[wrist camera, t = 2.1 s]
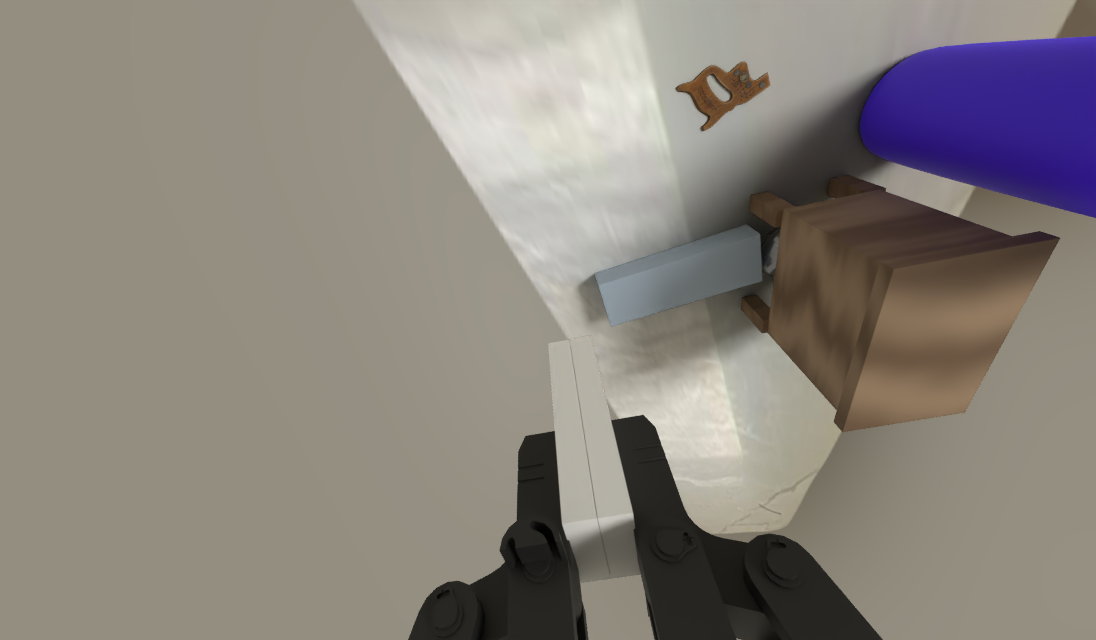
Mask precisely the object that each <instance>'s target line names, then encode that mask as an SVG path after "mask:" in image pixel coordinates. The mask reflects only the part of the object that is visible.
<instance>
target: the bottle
mask: <svg viewBox="0 0 1096 640" xmlns="http://www.w3.org/2000/svg"><path fill="white" fill-rule="evenodd" d="M860 134H861V138H862V141H863V143H864V145H865V147H866V148H867V149H868V150H869V151H870V152H871V153H873V154H875V155H877V156H879V157H881V158H883V159H885V160H888V161H891V162H894V163H897V164H900V165H904V166H907V167H910V168H913V169H917V170H920V171H924V172H927V173H931V174H934V175H938V176H941V177H945V178H948V179H952V180H955V181H959V182H963V183H966V184H970V185H974V186H977V187H981V188H984V189H988V190H992V191H995V192H999V193H1003V194H1007V195H1010V196H1014V197H1018V198H1022V199H1025V200H1029V201H1033V202H1037V203H1041V204H1044V205H1048V206H1052V207H1056V208H1059V209H1063V210H1067V211H1071V212H1075V213H1078V214H1083V215H1086V216H1090V217H1094V218H1096V36H1092V37H1074V38H1056V39H1038V40H1021V41H1006V42H991V43H976V44H965V45H955V46H945V47H939V48H934V49H929V50H925V51H921V52H919V53H916V54H914V55H912V56H910V57H908V58H906V59H905V60H903V61H902V62H900V63H899V64H897V65H896V66H895V67H894V68H892V69H891V70H890V71H889V72H888V73H887V74H886V75H885V76H884V77H883V78H882V79H881V80H880V81H879V82H878V83H877V85H876V86H875V87H874V89H873V90H872V92H871V93H870V95H869V97H868V99H867V101H866V103H865V105H864V108H863V111H862V114H861V119H860Z"/></svg>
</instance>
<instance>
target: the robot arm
mask: <svg viewBox="0 0 1096 640" xmlns="http://www.w3.org/2000/svg"><path fill="white" fill-rule="evenodd" d="M548 347H549V360H550V373H551V386H552V399H553V413H554V424H555V425H554V426H555V431H552V432H547V433H541V434H535V435H529V436H525V438H524V441H523V443H522V445H521V447H520V449H519V452H518V492H517V521H516V522H515V523H514V524H513V525H512V526H510V527H509V529H508V530H507V532H506V534H505V535H504V536H503V538H502V542H501V547H500V552H501V554H502V556H503V558H504V560H505V563H504V564H503V565H502V566H501V567H500V568H498V569H497V570H495V571H494V572H493V573H491V574H489V575H488V576H485V577H484V578H482V579H480V580H478V581H476V582H474V583H472V584H470V585H468V584H465V583H463V582H460V581H453V582H447V583H445V584H443V585H441V586H440V587H437V588H436V589H435V590H434V591H433V592H432V593H431V594H430V595H429V596H428V597H427V598H426V600H425V602H424V604H423V605H422V607H421V609H420V611H419V613H418V616H417V618H416V621H415V624H414V626H413V629H412V631H411V634H410V636H409V639H408V640H588V632H587V624H586V614H585V609H584V606H583V602H582V596H581V587H580V581H581V583H584V582H590V581H597V580H605V579H611V578H619V577H626V576H632V575H640V574H641V577H642V581H643V586H644V590H645V595H646V602H647V610H648V616H649V617H650V621H651V626H652V630H653V635H654V639H655V640H736V638H738V639H742V640H882V638H881V637H880V636H879V635H878V634H877V632H876V631H875V630H874V629H873V628H872V626H871V625H870V624H869V623H868V622H867V621H866V619H865V618H864V617H863V616H862V615H861V614H860V612H859V611H858V610H857V609H856V608H855V606H854V605H853V604H852V603H851V602H850V601H849V600H848V598H847V597H846V596H845V595H844V594H843V592H842V591H841V590H840V589H839V588H838V586H837V585H836V584H835V583H834V582H833V581H832V580H831V578H830V577H829V576H828V575H827V573H826V572H825V571H824V570H823V569H822V568H821V566H820V565H819V564H818V563H817V562H816V561H815V559H814V558H813V557H812V556H811V555H810V554H809V553H808V552H807V551H806V550H805V549H804V548H803V547H802V546H800V545H799V544H798V543H796V542H794V541H792V540H791V539H788V538H786V537H785V536H781V535H775V534H765V535H759V536H757V537H755V538H754V539H753V540H751V541H750V542H749V543H746V542H741V541H735V540H730V539H724V538H720V537H717V536H714V535H711V534H709V533H707V532H705V531H703V530H702V529H701V528H699V527H698V526H697V525H696V524H694V522H693V521H692V520H691V519H690V518H689V516H688V515H687V513H686V511H685V509H684V506H683V503H682V501H681V498H680V495H679V492H678V489H677V487H676V484H675V481H674V478H673V475H672V473H671V470H670V467H669V464H668V461H667V459H666V456H665V453H664V450H663V447H662V446H661V442H660V439H659V436H658V433H657V431H656V428H655V426H654V425H653V424H652V423H651V422H650V421H649V420H648V419H647V418H646V417H645V416H644V415H640V416H634V417H628V418H623V419H617V420H611V418H610V414H609V410H608V406H607V401H606V397H605V393H604V389H603V385H602V380H601V376H600V372H599V368H598V364H597V359H596V355H595V351H594V347H593V343H592V338H591V335H590V336H584V337H579V338H574V339H570V341H569V339H568V340H563V341H558V342H552V343H549V344H548ZM610 575H611V576H610Z"/></svg>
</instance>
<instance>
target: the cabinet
mask: <svg viewBox="0 0 1096 640" xmlns="http://www.w3.org/2000/svg"><path fill="white" fill-rule="evenodd" d="M885 191H886V188H884V187H881V186H878V185H875V184H872V183H869V182H867V181H864V180H861V179H858V178H855V177H852V176H849V175H845V176H840V177H836V178H831V179H830V183H829V188H828V193H827V195H828V196H830V197H833V198H835V199H831V200H826V201H821V202H816V203H811V204H806V205H801V206H794V205H792V204H790V203H788V202H786V201H785V200H783V199H781V198H779V197H777V196H775V195H773V194H771V193H769V192H763V193H758V194H753V195H751V199H750V212H752V213H753V214H755V215H756V216H758V217H759V218H761V219H762V220H764V221H765V222H767V223H768V224H770V225H771V226H773V227H774V228H776V227H781V231H780V239H779V246H778V254H777V261H776V269H775V277H774V284H773V292H772V299H771V307H770V308H769V307H768V306H767V305H766V304H765V303H764V302H763V301H762V300H761V299H760V298H759V297H758V296H757V295H754V296H749V297H743V298H742V306H741V310H742V311H743V312H744V313H745V314H746V316H747V317H748V318H749V319H750V320H751V321H752V322H753V324H754V325H755V326H756V327H757V328H758V329H759V330H760V332H761V333H766V332H767V333H768V334H769V335H770V336H771V337H772V338H773V339H774V341H775V342H776V343H777V344H778V345H779V346H780V347H781V348H782V350H783V351H784V352H785V353H786V354H787V355H788V356H789V357H790V359H791V360H792V361H793V362H794V363H795V364H796V365H797V366H798V367H799V369H800V370H801V371H802V372H803V373H804V374H805V375H806V376H807V378H808V379H809V380H810V381H811V382H812V383H813V384H814V385H815V387H816V388H817V389H818V390H819V391H820V392H821V393H822V394H823V395H824V397H825V398H826V399H827V400H828V401H829V402H830V403H831V404H832V406H833V407H834V408H835V409H836V410H837V412H836V416H835V419H834V423H835V424H836V425H837V426H838V427H839V429H840V430H841V431H842V432H846V431H853V430H858V429H865V428H871V427H878V426H883V425H890V424H896V423H902V422H909V421H914V420H920V419H927V418H934V417H940V416H946V415H952V414H958V413H964V412H965V411H966V409H967V407H968V406H969V404H970V402H971V400H972V398H973V397H974V394H975V393H976V391H977V389H978V387H979V385H980V384H981V382H982V380H983V378H984V376H985V375H986V373H987V371H988V369H989V367H990V365H991V364H992V362H993V360H994V358H995V356H996V354H997V353H998V351H999V349H1000V347H1001V345H1002V344H1003V342H1004V340H1005V338H1006V336H1007V334H1008V333H1009V331H1010V329H1011V327H1012V325H1013V323H1014V322H1015V319H1016V318H1017V316H1018V314H1019V312H1020V311H1021V309H1022V307H1023V305H1024V303H1025V301H1026V299H1027V298H1028V296H1029V294H1030V292H1031V291H1032V289H1033V287H1034V285H1035V283H1036V281H1037V280H1038V278H1039V276H1040V274H1041V272H1042V270H1043V268H1044V267H1045V265H1046V263H1047V261H1048V259H1049V258H1050V255H1051V254H1052V252H1053V250H1054V248H1055V247H1056V245H1057V243H1058V241H1059V239H1060V238H1059V237H1056V236H1053V235H1050V234H1047V233H1044V232H1040V231H1038V232H1033V233H1028V234H1023V235H1017V236H1009V235H1006V234H1004V233H1001V232H998V231H995V230H992V229H990V228H987V227H984V226H981V225H978V224H975V223H973V222H970V221H967V220H964V219H961V218H959V217H956V216H953V215H950V214H947V213H944V212H942V211H939V210H936V209H933V208H930V207H927V206H925V205H922V204H919V203H916V202H913V201H910V200H908V199H905V198H902V197H899V196H896V195H894V194H891V193H888V192H885Z"/></svg>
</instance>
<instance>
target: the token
mask: <svg viewBox="0 0 1096 640" xmlns="http://www.w3.org/2000/svg"><path fill="white" fill-rule="evenodd" d="M780 231H781V227H776V228H774V229H773V230H772V231H771V232H770V233H769V234H768V235H767V236H766V237H765V239H764V240H763V242H762V244H761V263H762V269H763V270H764V271H765V272H766V273H767V274H768V275H769V276H771V277H772V278H773V279H774V277H775V269H776V261H777V254H778V246H779V239H780Z"/></svg>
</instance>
